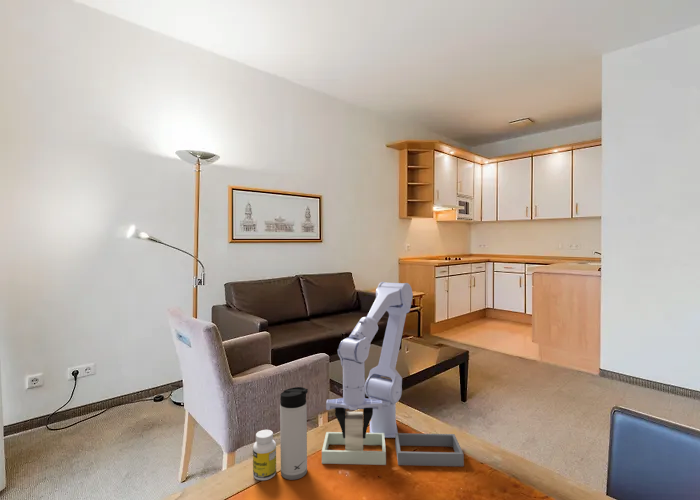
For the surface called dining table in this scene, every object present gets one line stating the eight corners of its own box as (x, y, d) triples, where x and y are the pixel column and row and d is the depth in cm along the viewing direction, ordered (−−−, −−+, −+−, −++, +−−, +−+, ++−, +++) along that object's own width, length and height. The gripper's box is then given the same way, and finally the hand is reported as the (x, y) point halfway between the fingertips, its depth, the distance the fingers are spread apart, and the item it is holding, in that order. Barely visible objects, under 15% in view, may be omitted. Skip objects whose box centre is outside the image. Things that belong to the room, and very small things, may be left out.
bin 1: (326, 442, 103) (326, 432, 103) (384, 443, 102) (384, 432, 102) (321, 463, 93) (321, 451, 93) (385, 464, 92) (385, 452, 92)
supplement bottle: (248, 477, 87) (247, 435, 87) (263, 465, 92) (263, 426, 92) (266, 484, 85) (265, 441, 85) (281, 471, 90) (280, 430, 90)
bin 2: (395, 444, 102) (395, 433, 102) (454, 445, 101) (454, 434, 101) (398, 465, 92) (398, 452, 92) (463, 466, 91) (463, 454, 91)
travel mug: (303, 482, 85) (302, 395, 85) (276, 478, 87) (275, 393, 87) (311, 466, 91) (311, 385, 92) (286, 463, 93) (285, 383, 93)
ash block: (346, 445, 100) (346, 411, 100) (363, 445, 99) (362, 411, 99) (345, 454, 95) (345, 419, 95) (362, 454, 95) (362, 419, 95)
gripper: (324, 389, 94) (325, 443, 94) (382, 390, 93) (382, 444, 93) (327, 380, 101) (328, 430, 101) (381, 380, 100) (381, 431, 100)
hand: (354, 436), depth 97 cm, fingers closed on ash block, 4 cm apart
